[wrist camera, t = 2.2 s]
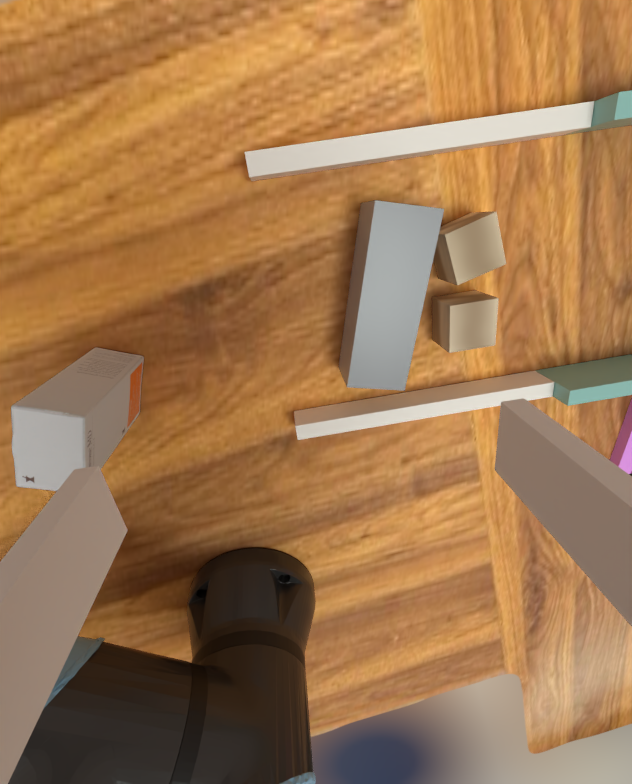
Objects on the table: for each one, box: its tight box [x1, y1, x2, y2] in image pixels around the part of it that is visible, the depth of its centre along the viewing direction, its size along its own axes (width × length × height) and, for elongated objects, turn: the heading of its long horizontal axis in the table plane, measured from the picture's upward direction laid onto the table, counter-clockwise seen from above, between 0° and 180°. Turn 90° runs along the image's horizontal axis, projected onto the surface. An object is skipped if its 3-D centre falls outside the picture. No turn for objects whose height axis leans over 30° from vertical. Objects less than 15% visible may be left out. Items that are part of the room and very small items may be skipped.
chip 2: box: [432, 290, 498, 353], centre depth 33 cm, size 4×4×4 cm
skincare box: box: [11, 347, 144, 491], centre depth 29 cm, size 6×4×12 cm
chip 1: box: [433, 212, 506, 285], centre depth 31 cm, size 4×4×4 cm
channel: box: [245, 101, 594, 440], centre depth 32 cm, size 24×23×3 cm
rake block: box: [339, 200, 444, 391], centre depth 31 cm, size 5×14×5 cm, turn 174°
